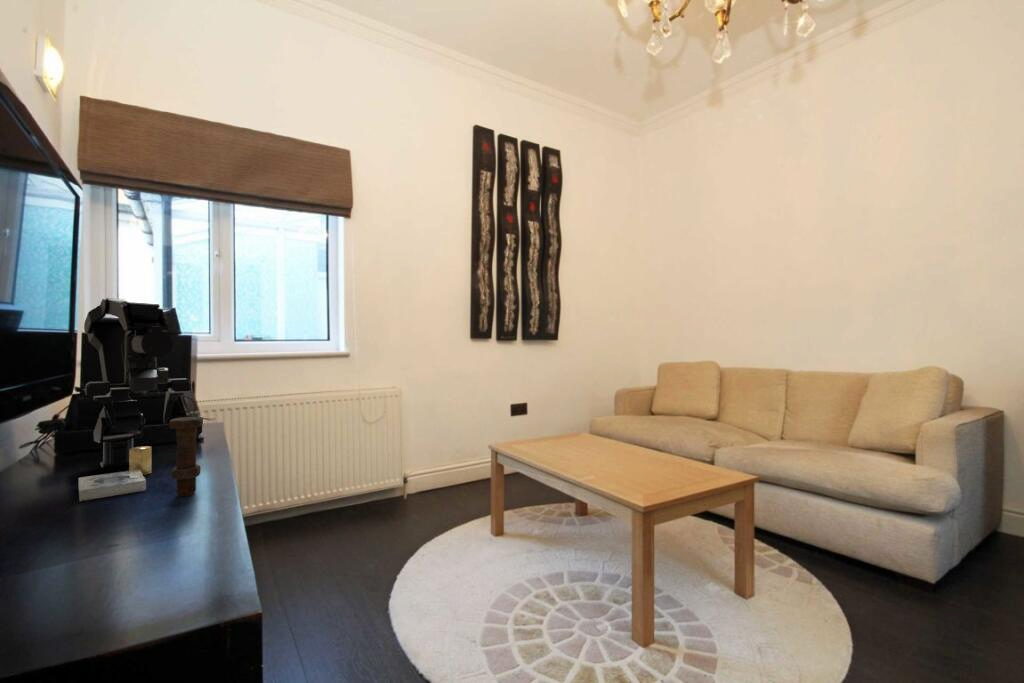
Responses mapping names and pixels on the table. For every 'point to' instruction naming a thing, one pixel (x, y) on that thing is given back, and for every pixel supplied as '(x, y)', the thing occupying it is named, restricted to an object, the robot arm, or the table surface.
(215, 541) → the table surface
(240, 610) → the table surface
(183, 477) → the bolt
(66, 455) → the table surface
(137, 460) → the bushing
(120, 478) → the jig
